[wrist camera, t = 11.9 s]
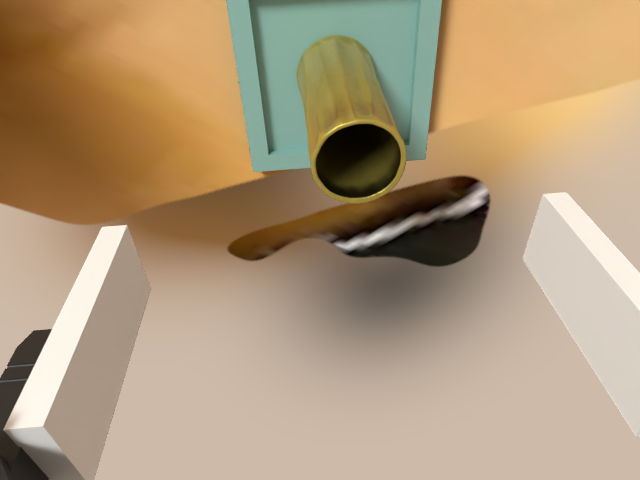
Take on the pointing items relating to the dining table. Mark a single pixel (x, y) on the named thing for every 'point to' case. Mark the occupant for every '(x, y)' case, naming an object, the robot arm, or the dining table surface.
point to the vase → (348, 122)
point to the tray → (303, 30)
